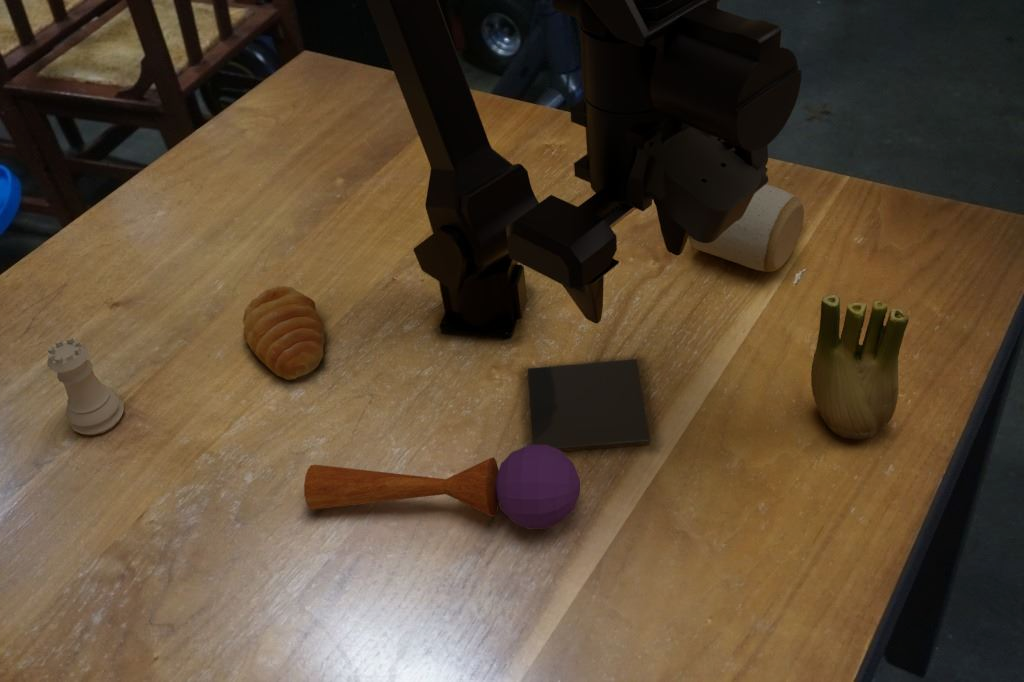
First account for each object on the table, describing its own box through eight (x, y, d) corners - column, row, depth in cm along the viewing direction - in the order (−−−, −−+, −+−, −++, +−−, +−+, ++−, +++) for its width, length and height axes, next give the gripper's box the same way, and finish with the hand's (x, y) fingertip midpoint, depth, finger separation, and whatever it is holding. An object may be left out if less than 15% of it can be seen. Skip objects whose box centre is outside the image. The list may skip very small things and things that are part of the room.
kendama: (316, 430, 83) (579, 426, 78) (333, 492, 86) (588, 491, 81) (289, 481, 78) (569, 480, 73) (309, 544, 81) (578, 547, 77)
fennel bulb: (798, 415, 85) (812, 298, 76) (842, 385, 87) (860, 267, 78) (858, 459, 81) (879, 340, 73) (902, 426, 83) (928, 307, 75)
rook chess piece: (77, 446, 89) (39, 376, 84) (67, 412, 92) (30, 343, 87) (131, 424, 91) (97, 354, 85) (119, 391, 94) (86, 322, 88)
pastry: (344, 366, 93) (335, 333, 91) (269, 396, 92) (257, 363, 89) (311, 304, 100) (301, 272, 97) (240, 331, 98) (228, 298, 96)
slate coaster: (533, 454, 84) (532, 450, 84) (528, 372, 91) (527, 368, 91) (650, 444, 84) (650, 440, 84) (636, 362, 91) (636, 358, 90)
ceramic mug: (769, 292, 95) (776, 220, 90) (684, 264, 99) (687, 193, 94) (819, 228, 101) (828, 157, 96) (737, 203, 105) (742, 134, 100)
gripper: (639, 209, 58) (643, 412, 69) (829, 61, 67) (806, 261, 78) (488, 143, 64) (513, 339, 75) (681, 16, 73) (679, 207, 84)
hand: (635, 285), depth 78 cm, fingers open, 9 cm apart
